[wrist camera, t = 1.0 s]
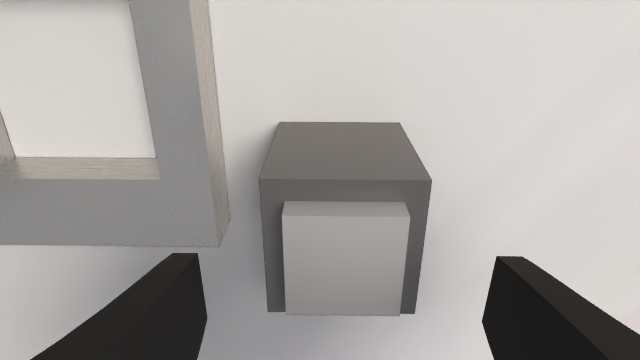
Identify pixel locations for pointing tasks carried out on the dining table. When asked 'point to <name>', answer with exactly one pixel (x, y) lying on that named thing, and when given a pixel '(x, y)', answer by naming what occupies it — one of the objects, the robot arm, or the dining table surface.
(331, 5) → the dining table surface
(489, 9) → the dining table surface
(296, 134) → the plug
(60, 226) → the socket plate
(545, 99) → the dining table surface
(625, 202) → the dining table surface
